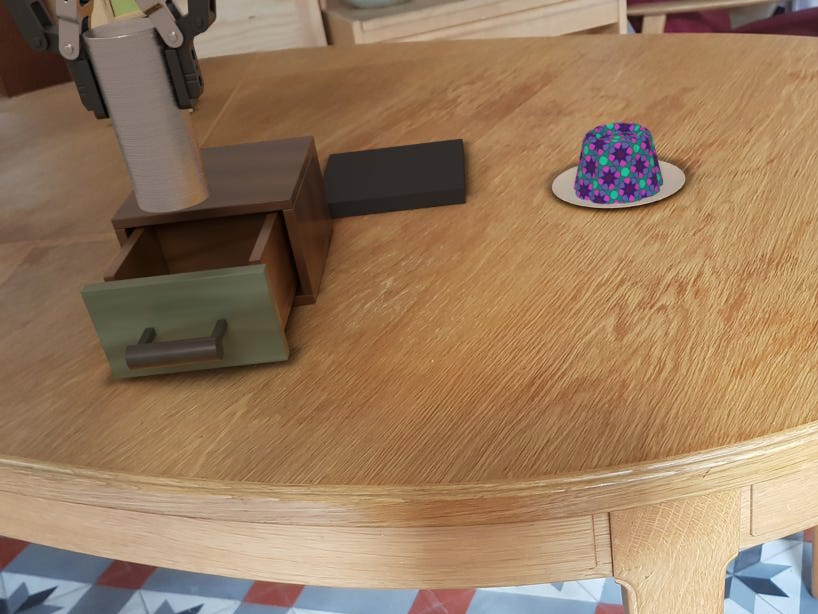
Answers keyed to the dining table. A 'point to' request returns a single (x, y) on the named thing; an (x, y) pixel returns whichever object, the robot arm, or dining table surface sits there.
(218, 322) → the drawer
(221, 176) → the cabinet
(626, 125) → the pudding
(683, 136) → the dining table surface
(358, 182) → the black rectangular block
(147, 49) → the brushed steel cylinder
